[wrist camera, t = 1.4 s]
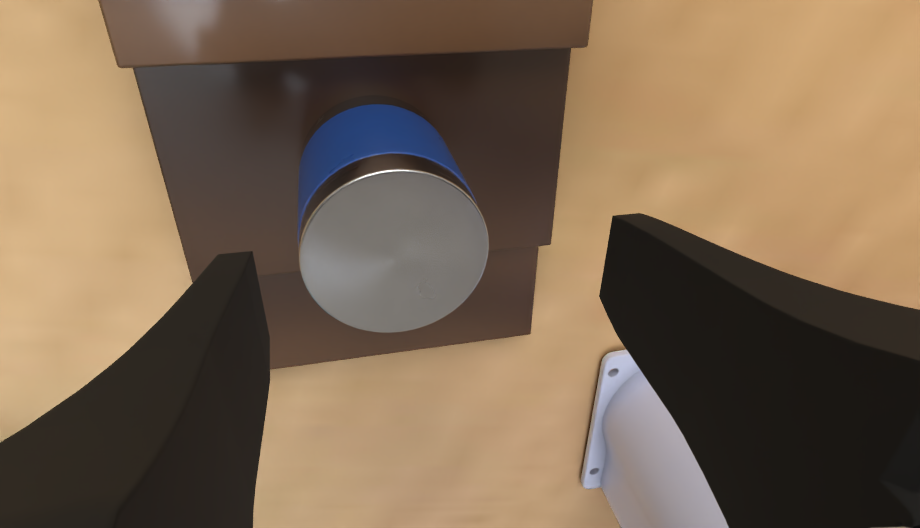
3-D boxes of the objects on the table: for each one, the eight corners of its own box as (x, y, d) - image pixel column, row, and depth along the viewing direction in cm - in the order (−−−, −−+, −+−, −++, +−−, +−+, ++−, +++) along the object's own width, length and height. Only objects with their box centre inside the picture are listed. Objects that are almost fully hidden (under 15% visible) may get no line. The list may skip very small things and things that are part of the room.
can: (446, 224, 20) (487, 322, 16) (309, 237, 19) (310, 345, 15) (445, 89, 18) (494, 160, 13) (288, 98, 17) (283, 177, 12)
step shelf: (522, 317, 26) (550, 373, 23) (230, 355, 24) (220, 423, 21) (567, -261, 16) (628, -293, 13) (65, -288, 14) (-1, -335, 11)
